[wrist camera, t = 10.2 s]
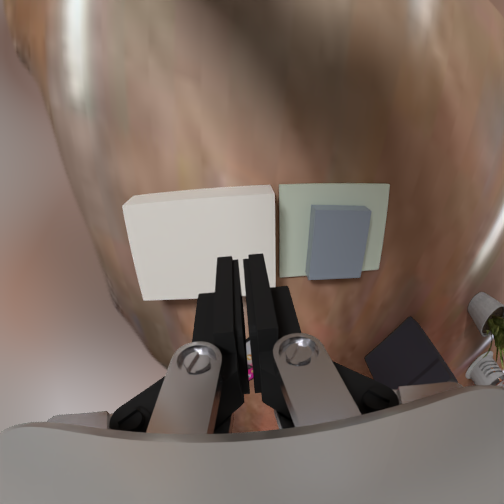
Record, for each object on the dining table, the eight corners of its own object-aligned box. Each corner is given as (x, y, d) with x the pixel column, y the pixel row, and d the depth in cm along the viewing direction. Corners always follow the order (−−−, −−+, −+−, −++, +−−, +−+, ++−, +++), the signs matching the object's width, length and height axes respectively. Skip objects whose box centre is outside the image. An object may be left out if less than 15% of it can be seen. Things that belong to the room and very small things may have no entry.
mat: (278, 184, 33) (279, 185, 33) (388, 183, 34) (389, 184, 33) (279, 276, 39) (279, 277, 38) (377, 267, 39) (378, 269, 39)
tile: (371, 211, 33) (364, 205, 35) (315, 209, 32) (311, 204, 34) (360, 277, 37) (354, 269, 38) (308, 279, 36) (305, 271, 38)
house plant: (503, 303, 46) (545, 349, 31) (459, 343, 49) (496, 396, 35) (498, 260, 41) (553, 308, 26) (448, 305, 44) (498, 366, 29)
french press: (477, 354, 53) (525, 427, 30) (501, 346, 53) (548, 410, 31) (459, 381, 57) (500, 452, 34) (485, 372, 58) (524, 435, 35)
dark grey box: (374, 363, 48) (404, 428, 35) (361, 356, 47) (391, 425, 34) (419, 323, 45) (460, 384, 31) (408, 313, 44) (451, 377, 30)
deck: (133, 195, 33) (122, 205, 29) (270, 184, 33) (274, 193, 30) (150, 283, 38) (143, 300, 34) (271, 276, 39) (275, 293, 35)
